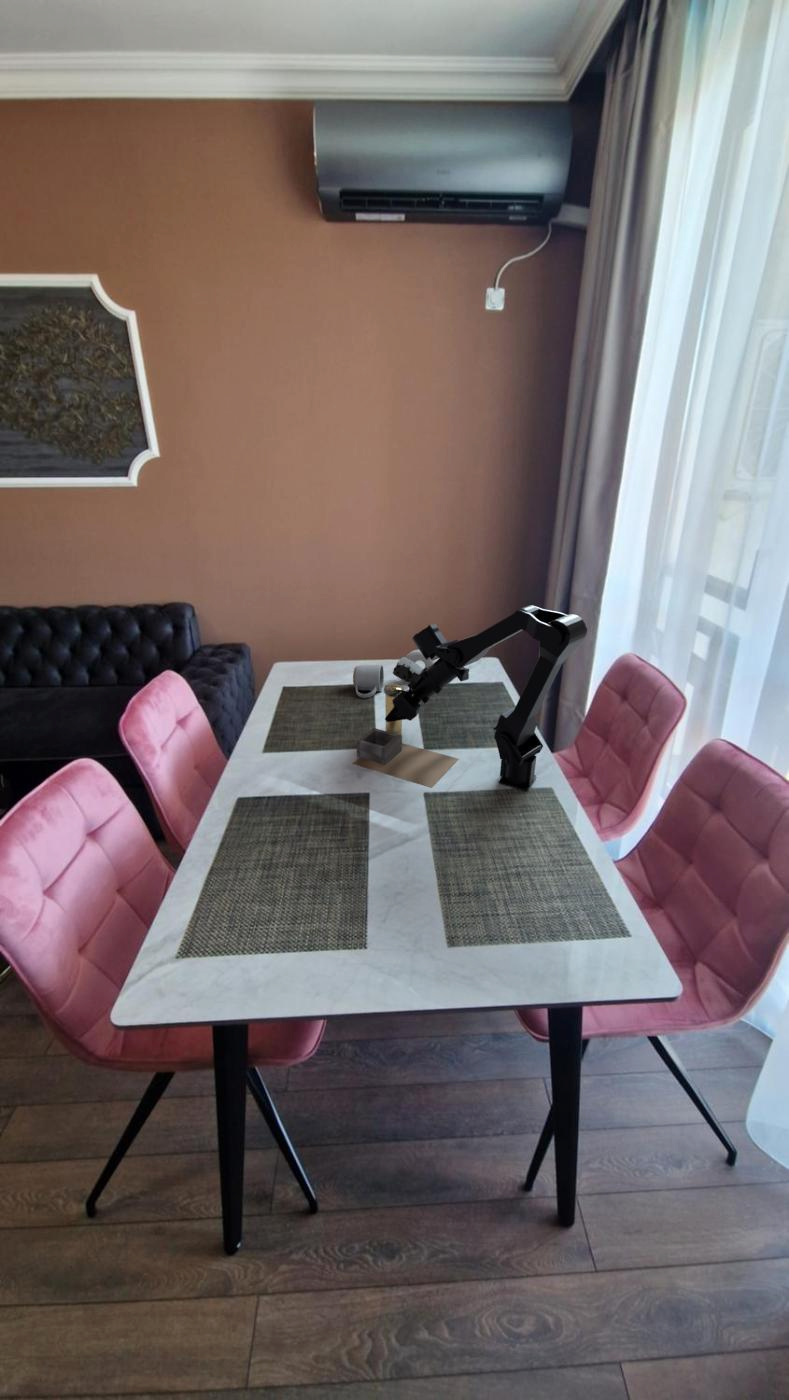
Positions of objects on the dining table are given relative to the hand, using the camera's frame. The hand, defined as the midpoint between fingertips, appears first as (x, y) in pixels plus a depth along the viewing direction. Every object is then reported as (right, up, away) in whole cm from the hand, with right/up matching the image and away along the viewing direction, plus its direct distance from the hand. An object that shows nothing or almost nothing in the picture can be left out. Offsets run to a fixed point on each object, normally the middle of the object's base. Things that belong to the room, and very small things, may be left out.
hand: (392, 712), depth 147 cm
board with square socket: (+3, -12, -9) cm, 15 cm away
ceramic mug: (-7, +5, +31) cm, 32 cm away
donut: (+8, +9, +38) cm, 40 cm away
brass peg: (0, -7, +3) cm, 7 cm away
